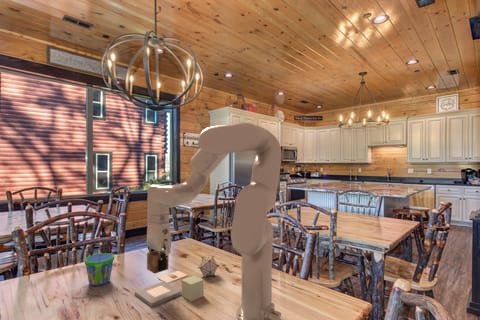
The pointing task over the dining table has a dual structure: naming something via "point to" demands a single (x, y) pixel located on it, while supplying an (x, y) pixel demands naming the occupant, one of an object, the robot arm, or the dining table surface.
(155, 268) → the walnut block
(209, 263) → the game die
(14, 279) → the dining table surface
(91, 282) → the snack cup
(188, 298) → the sage block
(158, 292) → the plate
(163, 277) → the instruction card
